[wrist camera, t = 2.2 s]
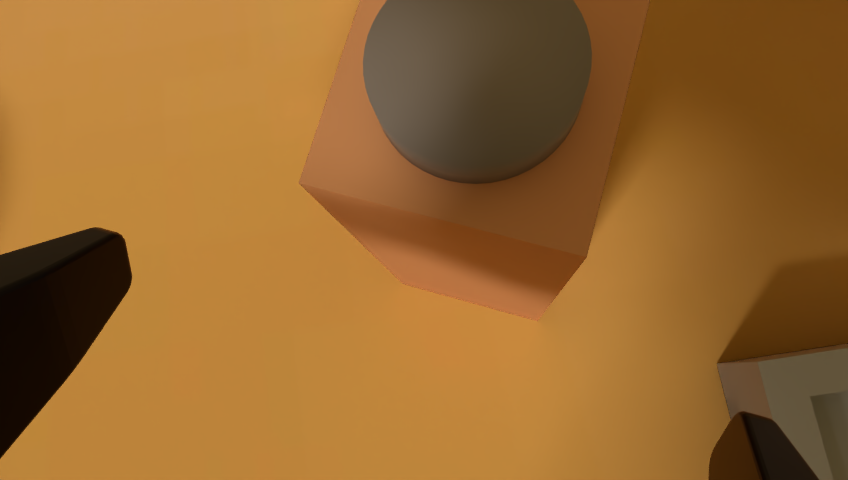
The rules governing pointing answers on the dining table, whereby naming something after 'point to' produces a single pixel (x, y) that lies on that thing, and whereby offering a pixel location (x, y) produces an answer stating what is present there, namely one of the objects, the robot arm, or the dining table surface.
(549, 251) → the block
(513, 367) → the dining table surface
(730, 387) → the tray
